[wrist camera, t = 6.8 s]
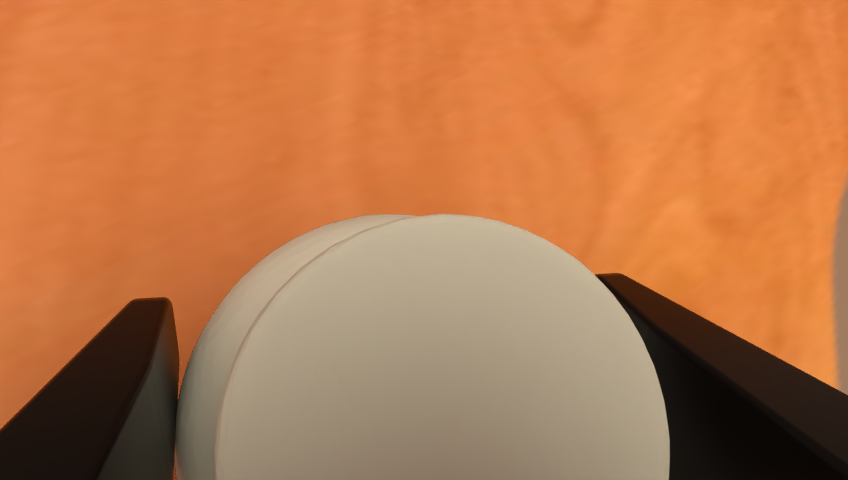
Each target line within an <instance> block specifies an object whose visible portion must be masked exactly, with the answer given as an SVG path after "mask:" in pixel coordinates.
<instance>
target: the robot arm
mask: <svg viewBox="0 0 848 480" xmlns="http://www.w3.org/2000/svg"><path fill="white" fill-rule="evenodd" d="M595 276H596V277H597V278H598V279H599V280H600V281H601V282H602V283H603V284H604V285H605V286H606V287H607V288H608V290H609V291H610V292H611V293H612V294H613V295H614V297H615V298H616V299H617V301H618V302H619V303H620V305H621V306H622V307H623V309H624V310H625V311H626V313H627V314H628V315H629V317H630V319H631V320H632V322H633V324H634V326H635V327H636V329H637V331H638V332H639V334H640V336H641V338H642V340H643V342H644V344H645V346H646V349H647V351H648V353H649V355H650V358H651V360H652V362H653V365H654V367H655V370H656V373H657V377H658V380H659V384H660V387H661V391H662V395H663V398H664V403H665V409H666V416H667V422H668V430H669V438H670V465H669V480H848V395H846V394H844V393H843V392H841V391H839V390H837V389H835V388H833V387H831V386H830V385H828V384H826V383H824V382H822V381H820V380H818V379H817V378H815V377H813V376H811V375H809V374H807V373H805V372H804V371H802V370H800V369H798V368H796V367H794V366H792V365H790V364H789V363H787V362H785V361H783V360H781V359H779V358H777V357H776V356H774V355H772V354H770V353H768V352H766V351H764V350H763V349H761V348H759V347H757V346H755V345H753V344H751V343H750V342H748V341H746V340H744V339H742V338H740V337H738V336H737V335H735V334H733V333H731V332H729V331H727V330H725V329H724V328H722V327H720V326H718V325H716V324H714V323H712V322H710V321H709V320H707V319H705V318H703V317H701V316H699V315H697V314H696V313H694V312H692V311H690V310H688V309H686V308H684V307H683V306H681V305H679V304H677V303H675V302H673V301H671V300H670V299H668V298H666V297H664V296H662V295H660V294H658V293H657V292H655V291H653V290H651V289H649V288H647V287H645V286H644V285H642V284H640V283H638V282H636V281H634V280H632V279H631V278H629V277H627V276H625V275H623V274H620V273H609V274H595ZM178 381H179V350H178V342H177V335H176V328H175V321H174V313H173V307H172V303H171V301H170V300H169V299H168V298H166V297H159V298H139V299H134V300H132V301H130V302H129V303H128V304H127V305H126V306H125V307H124V308H123V309H122V310H121V311H120V312H119V313H118V314H117V315H116V316H115V317H114V318H113V319H112V320H111V321H110V322H109V323H108V324H107V325H106V326H105V327H104V328H103V329H102V330H101V331H100V332H99V333H98V334H97V335H96V336H95V337H94V338H93V339H92V340H91V341H90V342H89V343H88V344H87V345H86V346H85V347H84V348H82V349H81V350H80V351H79V352H78V353H77V354H76V355H75V356H74V357H73V358H72V359H71V360H70V361H69V362H68V363H67V364H66V365H65V366H64V367H63V368H62V369H61V370H60V371H59V372H58V373H57V374H56V375H55V376H54V377H53V378H52V379H51V380H50V381H49V382H48V383H47V384H46V385H45V386H44V387H43V388H42V389H41V390H40V391H39V392H38V393H37V394H36V395H35V396H34V397H33V398H32V399H31V400H30V401H29V402H28V403H27V404H26V405H25V406H24V407H23V408H22V409H21V410H20V411H19V412H18V413H17V414H16V415H15V416H14V417H13V418H12V419H11V420H10V421H9V422H7V423H6V424H5V425H4V426H3V427H2V428H1V429H0V480H173V470H174V456H175V437H176V413H177V400H178Z"/></svg>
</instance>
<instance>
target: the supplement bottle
mask: <svg viewBox="0 0 848 480" xmlns="http://www.w3.org/2000/svg"><path fill="white" fill-rule="evenodd" d="M174 458H175V471H176V478H177V480H669V465H670V438H669V430H668V422H667V416H666V409H665V403H664V398H663V395H662V391H661V387H660V384H659V380H658V377H657V373H656V370H655V367H654V365H653V362H652V360H651V358H650V355H649V353H648V351H647V349H646V346H645V344H644V342H643V340H642V338H641V336H640V334H639V332H638V331H637V329H636V327H635V326H634V324H633V322H632V320H631V319H630V317H629V315H628V314H627V313H626V311H625V310H624V309H623V307H622V306H621V305H620V303H619V302H618V301H617V299H616V298H615V297H614V295H613V294H612V293H611V292H610V291H609V290H608V288H607V287H606V286H605V285H604V284H603V283H602V282H601V281H600V280H599V279H598V278H597V277H596V276H595V275H594V274H593V273H592V272H591V271H590V270H589V269H588V268H587V267H585V266H584V265H583V264H582V263H581V262H580V261H578V260H577V259H576V258H574V257H573V256H571V255H570V254H569V253H567V252H566V251H565V250H563V249H561V248H559V247H558V246H556V245H554V244H552V243H551V242H549V241H547V240H545V239H543V238H541V237H539V236H537V235H535V234H533V233H531V232H529V231H526V230H524V229H522V228H519V227H516V226H513V225H510V224H507V223H504V222H501V221H497V220H492V219H488V218H483V217H478V216H467V215H457V214H434V215H426V216H413V215H398V214H382V215H364V216H359V217H355V218H350V219H346V220H341V221H337V222H333V223H330V224H327V225H324V226H322V227H319V228H317V229H314V230H311V231H309V232H307V233H304V234H302V235H300V236H298V237H296V238H294V239H292V240H291V241H289V242H287V243H286V244H284V245H283V246H281V247H279V248H278V249H276V250H275V251H273V252H271V253H270V254H269V255H267V256H266V257H265V258H264V259H262V260H261V261H260V262H258V263H257V264H256V265H255V266H254V267H253V268H252V269H251V270H249V271H248V272H247V273H246V274H245V275H244V276H243V277H242V278H241V279H240V280H239V281H238V282H237V283H236V285H235V286H234V287H233V288H232V289H231V290H230V291H229V293H228V294H227V295H226V297H225V298H224V299H223V300H222V302H221V303H220V304H219V306H218V307H217V309H216V310H215V312H214V313H213V315H212V317H211V318H210V320H209V321H208V323H207V324H206V326H205V328H204V329H203V331H202V333H201V335H200V337H199V339H198V341H197V343H196V345H195V347H194V349H193V351H192V354H191V357H190V360H189V363H188V366H187V368H186V371H185V375H184V378H183V382H182V386H181V390H180V394H179V399H178V404H177V413H176V437H175V456H174Z"/></svg>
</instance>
